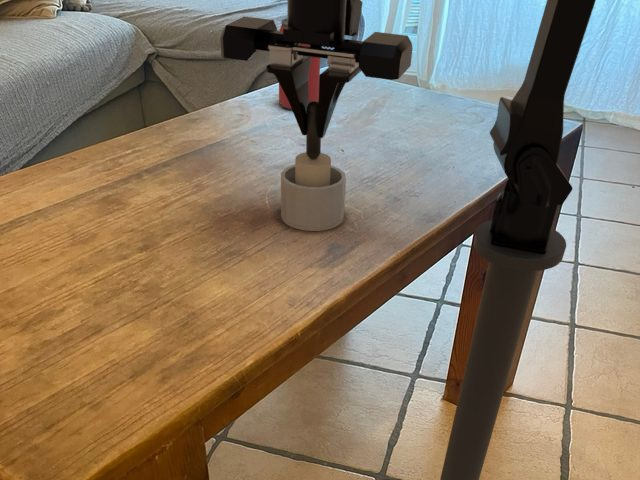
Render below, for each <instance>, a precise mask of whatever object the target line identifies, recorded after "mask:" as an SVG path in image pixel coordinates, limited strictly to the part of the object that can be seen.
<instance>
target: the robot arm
mask: <svg viewBox="0 0 640 480" xmlns="http://www.w3.org/2000/svg"><path fill="white" fill-rule="evenodd" d="M596 2H597V0H546V3H545V7H544V10H543V13H542V17H541V20H540V24H539V27H538V31H537V35H536V37H535V38H536V39H535V41H534V45H533V48H532V52H531V55H530V59H529V62H528V66H527V69H526V73H525V77H524V80H523V82H522V84H521V86H520V88H519V89H518V90H517V92H516V93H515V95H514V96H513V98H512V99H509V98H506V97H503V96H501V97H500V98H499V101H498V106H497V115H496V120H495V122H494V124H493V126H492V128H490V131H489V135H490V137H491V139H492V141H493V151H494V153H495V156H496V158H497V160H498V162H499V164H500V166H501V168H502V170H503V172H504V174H505V176H506V177H507V180H506V183H505V186H504V188H503V191H500V192H499V193H498V195H497V197H496V200H495V206H494V208H493V209H494V210H493V214H492V219H491V220H492V223H491V227H490V233H491V234H493V236H492V239H491V244H492V245H495V246H500V247H506V248H511V249H517V250H522V251H528V252H533V253H539V254H546V251H547V247H548V242H549V237H550V232H551V228H553V224H554V222H555V218H556V214H557V210H558V207H559V206H562V205H563V204H564V203H565V202H566V200H567V199H568V197H569V195H570V194H571V192H572V191H573V186H572V184H571V183H570V181H569V180H568V178H567V177H566V175H565V173H564V172H563V170H562V169H561V167H560V165H559V164H558V163H559V160H560V159H559V158H560V154H561V153H560V152H561V147H562V143H563V142H562V141H563V137H564V136H563V135H564V115H565V114H564V111H565V98H566V97H565V96H566V93H567V90H568V87H569V83H570V80H571V78H572V75H573V71H574V68H575V64H576V62H577V59H578V56H579V53H580V50H581V46H582V44H583V40H584V37H585V34H586V32H587V29H588V25H589V22H590V20H591V16H592V13H593V10H594V8H595V4H596ZM363 4H364V3H363V1H362V0H287V4H286V5H287V17H286V18H287V27H286V28H284V29H283V32H281V31H280V30H278V27H277V24H276V22H275V20H274V19H271V18H270V19H269V18H260V17H253V16H242V17H240V18H238V19H236V20H233V21H232V22H229V23H227V24H226V25H225V26H224V27H223V28H222V30H221V35H220V55H221V57H222V58H224V59H231V60H238V61H245V62H248V61H249V60H251V58H252V57H253V56H254V55H255V54H256V53H257V51H264V52H269V53H268V56H269V63H268V64H267V65H266V66H265V67H266V68H265V69H266V72H267V73H269V74H273V75H274V76H275V79H276V80H277V82H278V85H279V84H280V86H281V88H282V90H283V91H284V93H285V95H286V97H287V99H288V101H289V104H290V106H291V108H292V110H291V111H292V113H293V115H294V118H295V120H296V123H297V125H298V128H299V130H300V133H301V135H302V136H306V130H307V106H308V104H309V86H308V75H309V69H310V63H311V57H318V58H320V59H326V60H327V64H328V67H327V69H325V70H323V71H322V72H320V77H319V102H318V135H319V138H321V139H323V138H324V137H325V136H326V133H327V131H328V128H329V125H330V123H331V120H332V117H333V114H334V112H335V108H336V105H337V103H338V100H339V98H340V96H341V94H342V91H343V89H344V87H345V85H346V84H347V83H349V82H350V81H352V80H353V79H354V78H355V77H357V75H359V74H360V72H361V73H362V74H363V75H364V77H366V78H372V79H373V78H374V79H380V80H381V79H382V80H389V81H395V80H399V79H400V78H401V77H402V76H403V75H404V74H405V73H406V72H407V70H409V68H411V66H412V58H413V42H412V40H411V39H410V37H409V35H407V34H397V33H391V32H390V33H389V32H388V33H387V32H380V31H374V32H373V33H372V34H371V35H369V36H368V37H367V38H366V39H364V40H356V39H349V38H347V39H346V36H347V37H358V36H359V29H360V23H361V18H362V17H361V16H362V10H363ZM298 44H302V45H303V44H305V45H310V47H308V46H305V45H303V46H301V45H298Z"/></svg>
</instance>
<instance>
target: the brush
mask: <svg viewBox="0 0 640 480" xmlns="http://www.w3.org/2000/svg"><path fill="white" fill-rule="evenodd" d="M305 136H306V137H305V139H306V140H305V142H306V143H305V152H302V153H299V154H297V155H296V156H295V158H294V159H295V160H294V161H295V163H294V165H295V184H297V185H300V186H306V187H324V186H330V173H331V166H332V157H331V156H330V155H328V154H326V153H323V152H322V151H321V150H322V149H321V147H322V138H319V135H318V102H317V101H312V102H310V103H309V104H308V106H307V130H306V135H305Z"/></svg>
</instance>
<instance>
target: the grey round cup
mask: <svg viewBox="0 0 640 480" xmlns="http://www.w3.org/2000/svg"><path fill="white" fill-rule="evenodd" d="M346 186H347V176H346V172H345V171H343V170H342V169H341V168H339V167H338V166H337V167H336V166H334V165H331V173H330V186H324V187H306V186H300V185H297V184H295V164H292V165H290V166H287V167H285V168H284V169H283V170H282V171H281V172H280V217H281V221H283V223H284V224H285V225H286V226H288V227H291V228H294V229H296V230H301V231H304V232H305V231H308V232H320V231H321V232H323V231H327V230H331V229H334V228H336V227H338V226H339V225H341V224H342V223H343V221H344V216H345V205H346V189H347V188H346Z"/></svg>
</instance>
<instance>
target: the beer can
mask: <svg viewBox="0 0 640 480" xmlns="http://www.w3.org/2000/svg"><path fill="white" fill-rule="evenodd" d="M280 22H281V24H280V28H279V31H281V32H283V29H284V28H286V27H287V17H286V18H284V19H281V21H280ZM298 45H301V46H303V45H305V44H303V45H302V44H298ZM305 46H308V47H310V45H305ZM320 74H321V58H318V57H311V63H310V69H309V75H308V86H309V103H310V102H312V101H317V102H319V77H320ZM278 102H279V104H280V106H281V107H283V108H284V109H287V110H291V111H292V108H291V106H290V104H289V101H288V99H287V97H286V95H285V93H284V91H283V90H282V88H281V86H280V84H279V83H278Z"/></svg>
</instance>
